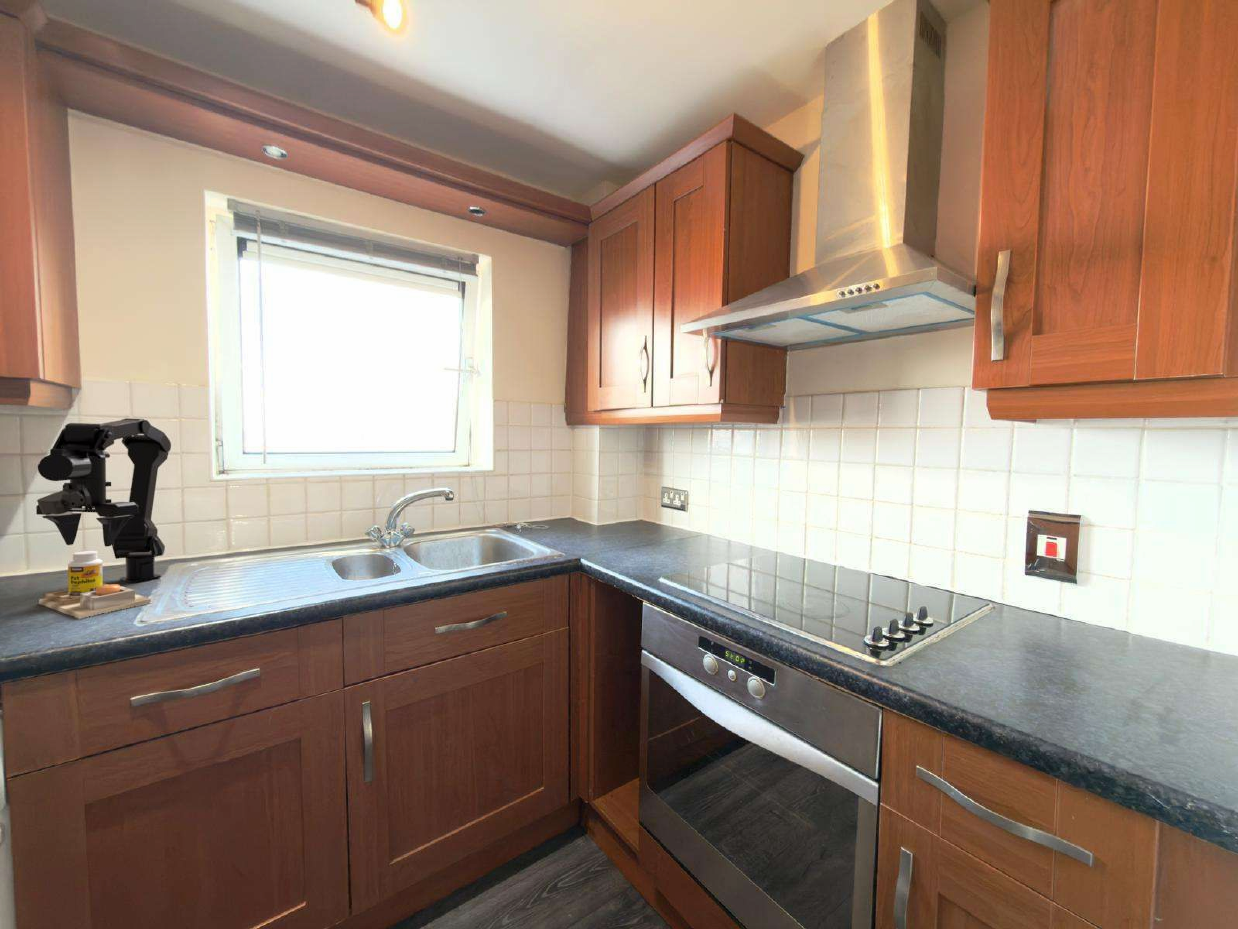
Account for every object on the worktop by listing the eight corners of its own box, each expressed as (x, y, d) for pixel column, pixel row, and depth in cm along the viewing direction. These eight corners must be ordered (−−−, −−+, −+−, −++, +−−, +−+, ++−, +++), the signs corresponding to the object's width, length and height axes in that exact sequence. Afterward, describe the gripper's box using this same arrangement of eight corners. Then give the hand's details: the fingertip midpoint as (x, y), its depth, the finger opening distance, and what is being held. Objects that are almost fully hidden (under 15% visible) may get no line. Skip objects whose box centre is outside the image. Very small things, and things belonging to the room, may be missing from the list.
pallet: (39, 603, 116) (38, 588, 115) (109, 590, 126) (108, 576, 126) (79, 618, 107) (79, 602, 107) (150, 603, 118) (150, 587, 118)
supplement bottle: (64, 600, 115) (63, 556, 115) (72, 594, 120) (72, 551, 119) (99, 597, 118) (98, 553, 118) (105, 591, 123) (105, 549, 122)
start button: (92, 596, 113) (92, 587, 113) (115, 592, 117) (114, 583, 117) (100, 599, 112) (100, 590, 112) (123, 594, 115) (123, 585, 115)
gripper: (5, 479, 109) (7, 551, 109) (88, 481, 108) (89, 554, 108) (64, 476, 120) (65, 541, 120) (140, 478, 119) (140, 544, 120)
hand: (88, 545), depth 117 cm, fingers open, 9 cm apart
